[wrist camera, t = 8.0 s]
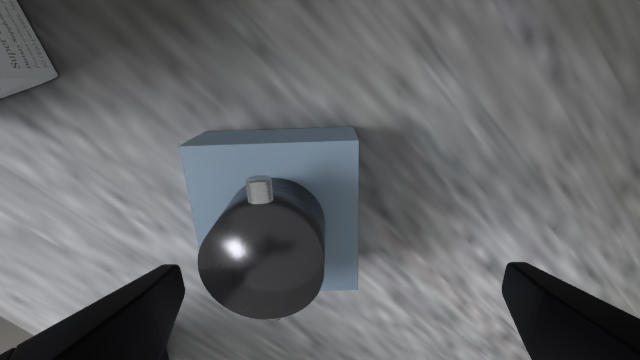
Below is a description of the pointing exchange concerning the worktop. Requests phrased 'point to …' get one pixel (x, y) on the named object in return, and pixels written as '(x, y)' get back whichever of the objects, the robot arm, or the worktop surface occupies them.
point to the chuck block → (287, 163)
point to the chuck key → (266, 250)
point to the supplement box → (20, 52)
